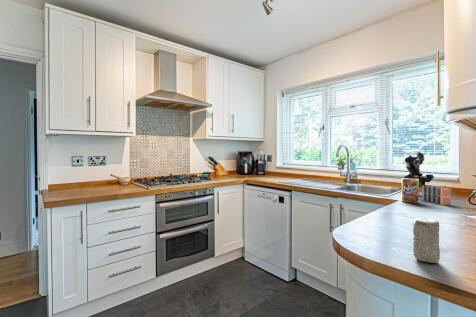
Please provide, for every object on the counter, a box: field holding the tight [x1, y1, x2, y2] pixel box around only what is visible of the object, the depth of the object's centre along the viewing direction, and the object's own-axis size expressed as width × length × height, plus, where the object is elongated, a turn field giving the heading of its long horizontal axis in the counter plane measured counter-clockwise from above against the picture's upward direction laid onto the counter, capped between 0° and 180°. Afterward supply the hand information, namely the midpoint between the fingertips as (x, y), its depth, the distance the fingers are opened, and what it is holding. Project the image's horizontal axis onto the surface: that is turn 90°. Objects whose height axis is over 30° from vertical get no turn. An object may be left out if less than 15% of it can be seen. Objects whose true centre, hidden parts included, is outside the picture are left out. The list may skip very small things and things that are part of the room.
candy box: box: [400, 177, 420, 204], centre depth 161 cm, size 9×4×15 cm, turn 60°
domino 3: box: [430, 186, 442, 204], centre depth 160 cm, size 2×5×10 cm, turn 90°
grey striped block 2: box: [425, 185, 437, 203], centre depth 164 cm, size 2×5×10 cm, turn 90°
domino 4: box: [435, 187, 447, 205], centre depth 156 cm, size 2×5×10 cm, turn 90°
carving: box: [412, 217, 441, 264], centre depth 72 cm, size 6×8×12 cm
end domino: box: [439, 188, 452, 206], centre depth 153 cm, size 2×5×10 cm, turn 90°
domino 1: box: [421, 184, 431, 201], centre depth 168 cm, size 2×5×10 cm, turn 90°
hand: (424, 187), depth 170 cm, fingers closed
